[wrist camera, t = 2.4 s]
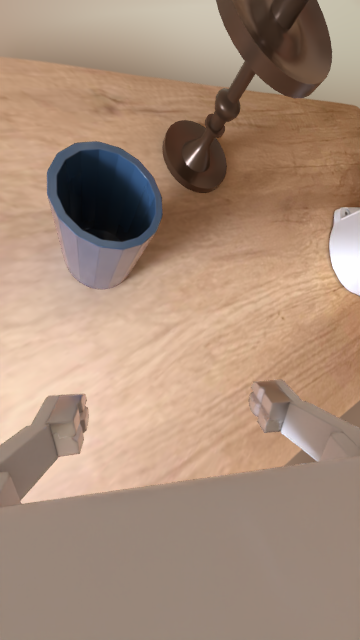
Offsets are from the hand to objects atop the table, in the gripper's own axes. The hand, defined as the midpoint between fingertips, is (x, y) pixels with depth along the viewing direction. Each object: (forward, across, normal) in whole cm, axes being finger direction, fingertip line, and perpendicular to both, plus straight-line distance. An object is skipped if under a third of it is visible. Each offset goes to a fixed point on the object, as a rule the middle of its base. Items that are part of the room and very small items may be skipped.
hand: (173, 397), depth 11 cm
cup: (+17, +6, -4) cm, 18 cm away
